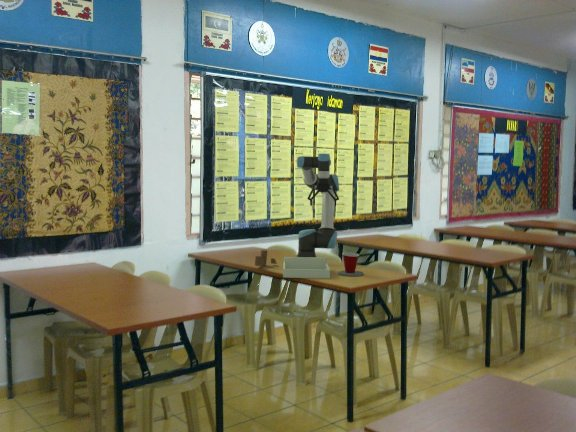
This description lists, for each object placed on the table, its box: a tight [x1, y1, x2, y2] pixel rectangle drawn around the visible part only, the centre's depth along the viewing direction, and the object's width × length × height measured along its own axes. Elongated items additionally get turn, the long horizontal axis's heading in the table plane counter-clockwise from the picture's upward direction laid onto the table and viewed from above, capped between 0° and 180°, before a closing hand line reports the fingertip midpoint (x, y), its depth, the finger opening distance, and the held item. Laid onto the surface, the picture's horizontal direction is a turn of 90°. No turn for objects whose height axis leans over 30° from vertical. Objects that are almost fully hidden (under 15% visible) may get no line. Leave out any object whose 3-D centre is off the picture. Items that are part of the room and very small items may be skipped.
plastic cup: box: [342, 252, 360, 273], centre depth 375 cm, size 11×11×12 cm
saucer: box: [337, 269, 365, 278], centre depth 375 cm, size 16×16×1 cm
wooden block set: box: [254, 249, 278, 267], centre depth 399 cm, size 18×9×10 cm, turn 145°
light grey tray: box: [282, 256, 331, 279], centre depth 375 cm, size 28×28×8 cm
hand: (322, 211), depth 386 cm, fingers open, 13 cm apart
